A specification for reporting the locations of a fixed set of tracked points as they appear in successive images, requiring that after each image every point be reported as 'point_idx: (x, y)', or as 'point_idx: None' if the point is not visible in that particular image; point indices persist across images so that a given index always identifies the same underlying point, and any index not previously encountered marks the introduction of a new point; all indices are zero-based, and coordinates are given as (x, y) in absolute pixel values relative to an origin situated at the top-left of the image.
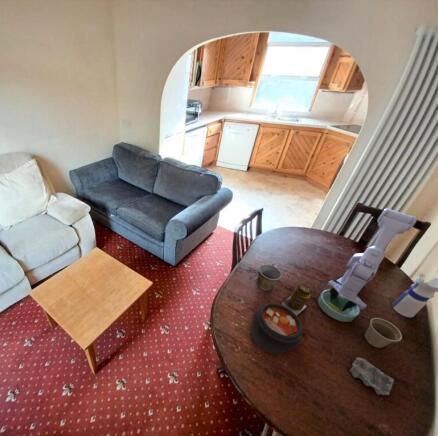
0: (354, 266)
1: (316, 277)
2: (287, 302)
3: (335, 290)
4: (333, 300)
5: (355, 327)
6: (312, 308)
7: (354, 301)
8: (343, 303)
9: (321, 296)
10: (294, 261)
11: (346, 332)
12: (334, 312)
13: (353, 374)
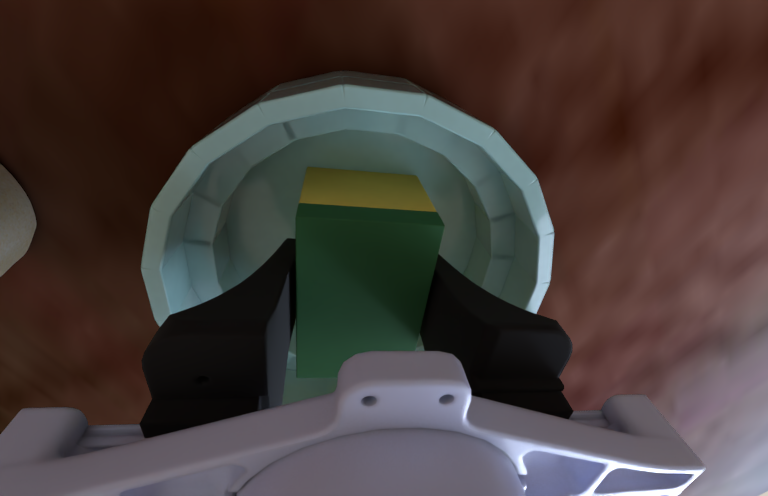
0: None
1: (576, 369)
2: None
3: (510, 393)
4: (419, 255)
5: (125, 192)
6: (500, 7)
7: (145, 478)
8: (326, 312)
9: (542, 195)
10: (735, 366)
11: (88, 27)
12: (304, 91)
13: None
